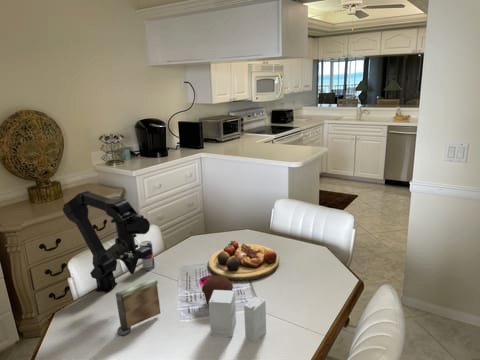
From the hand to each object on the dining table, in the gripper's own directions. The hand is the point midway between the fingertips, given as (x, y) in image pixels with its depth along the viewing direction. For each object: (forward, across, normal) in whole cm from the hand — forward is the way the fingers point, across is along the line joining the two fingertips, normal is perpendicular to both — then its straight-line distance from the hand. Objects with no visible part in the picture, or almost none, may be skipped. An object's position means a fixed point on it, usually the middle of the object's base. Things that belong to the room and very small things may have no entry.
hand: (132, 273), depth 135 cm
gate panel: (+13, +10, -8) cm, 18 cm away
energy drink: (+7, -15, +22) cm, 28 cm away
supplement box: (+17, +37, +2) cm, 41 cm away
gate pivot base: (+14, +8, -14) cm, 21 cm away
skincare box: (+19, +48, +4) cm, 52 cm away
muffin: (+15, +28, +14) cm, 34 cm away
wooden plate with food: (+11, +22, +44) cm, 51 cm away
